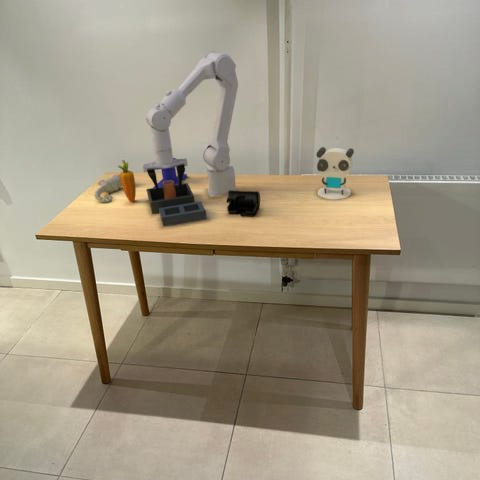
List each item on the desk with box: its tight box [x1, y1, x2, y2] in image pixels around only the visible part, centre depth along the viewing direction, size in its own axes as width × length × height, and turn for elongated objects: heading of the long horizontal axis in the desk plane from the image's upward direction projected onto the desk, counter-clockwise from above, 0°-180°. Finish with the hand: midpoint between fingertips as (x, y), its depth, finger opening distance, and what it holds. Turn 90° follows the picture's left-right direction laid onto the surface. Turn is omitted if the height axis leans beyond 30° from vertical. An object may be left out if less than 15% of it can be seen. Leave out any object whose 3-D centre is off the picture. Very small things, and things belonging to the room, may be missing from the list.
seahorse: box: [94, 173, 136, 203], centre depth 174 cm, size 5×12×20 cm
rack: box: [158, 200, 207, 227], centre depth 152 cm, size 8×14×4 cm, turn 105°
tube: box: [162, 180, 176, 199], centre depth 160 cm, size 4×4×8 cm
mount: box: [152, 157, 188, 188], centre depth 176 cm, size 15×8×9 cm, turn 163°
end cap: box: [226, 189, 261, 218], centre depth 153 cm, size 10×7×7 cm
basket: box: [146, 182, 196, 215], centre depth 162 cm, size 15×13×5 cm
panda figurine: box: [315, 146, 355, 201], centre depth 158 cm, size 12×11×15 cm
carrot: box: [117, 159, 137, 203], centre depth 162 cm, size 5×5×15 cm
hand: (169, 189), depth 160 cm, fingers open, 7 cm apart
